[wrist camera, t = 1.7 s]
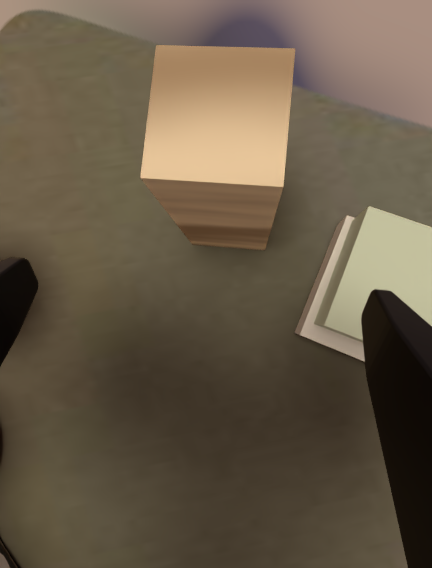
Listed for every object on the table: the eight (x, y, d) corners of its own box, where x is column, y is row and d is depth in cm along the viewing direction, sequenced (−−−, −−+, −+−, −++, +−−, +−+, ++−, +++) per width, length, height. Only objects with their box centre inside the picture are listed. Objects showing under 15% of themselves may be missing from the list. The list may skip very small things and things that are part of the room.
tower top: (425, 367, 18) (455, 375, 15) (313, 323, 18) (324, 325, 16) (463, 259, 18) (499, 250, 15) (352, 220, 18) (368, 205, 16)
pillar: (264, 250, 21) (283, 187, 10) (192, 244, 21) (140, 178, 11) (271, 179, 21) (294, 48, 11) (199, 174, 22) (156, 45, 11)
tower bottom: (406, 379, 20) (429, 388, 17) (293, 332, 21) (299, 334, 18) (448, 268, 20) (476, 262, 18) (335, 227, 21) (347, 215, 19)
